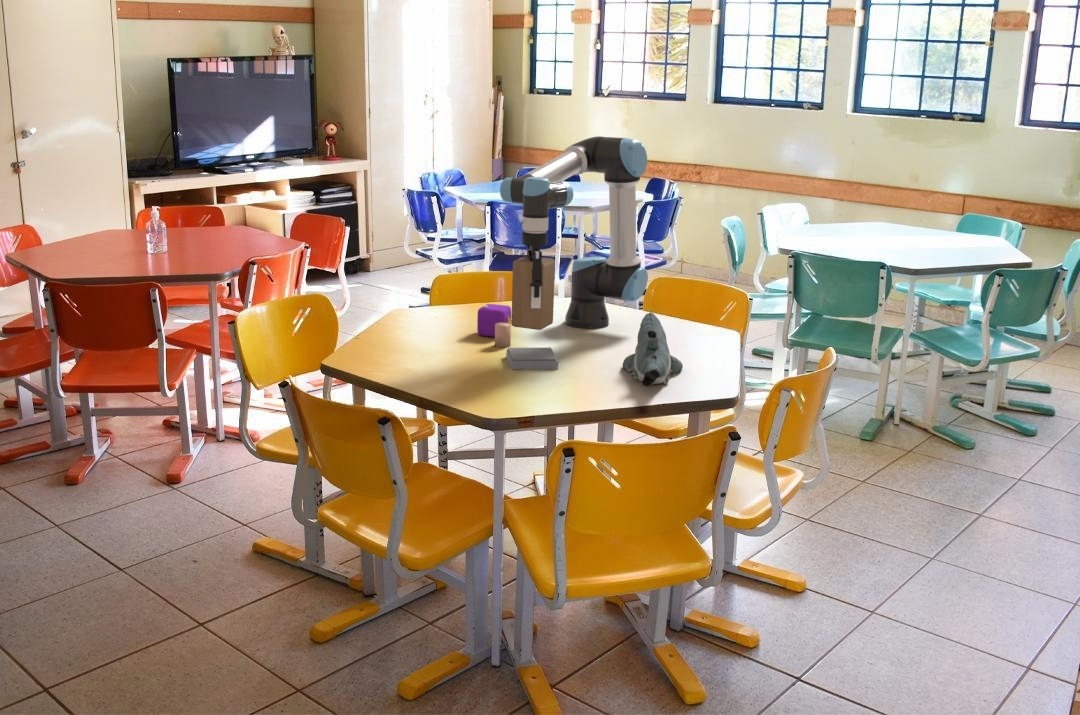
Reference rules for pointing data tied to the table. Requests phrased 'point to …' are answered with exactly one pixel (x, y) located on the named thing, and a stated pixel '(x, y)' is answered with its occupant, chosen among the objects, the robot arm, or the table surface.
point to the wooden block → (522, 294)
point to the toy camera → (492, 318)
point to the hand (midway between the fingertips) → (533, 303)
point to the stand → (531, 358)
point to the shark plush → (652, 354)
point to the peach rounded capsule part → (502, 334)
